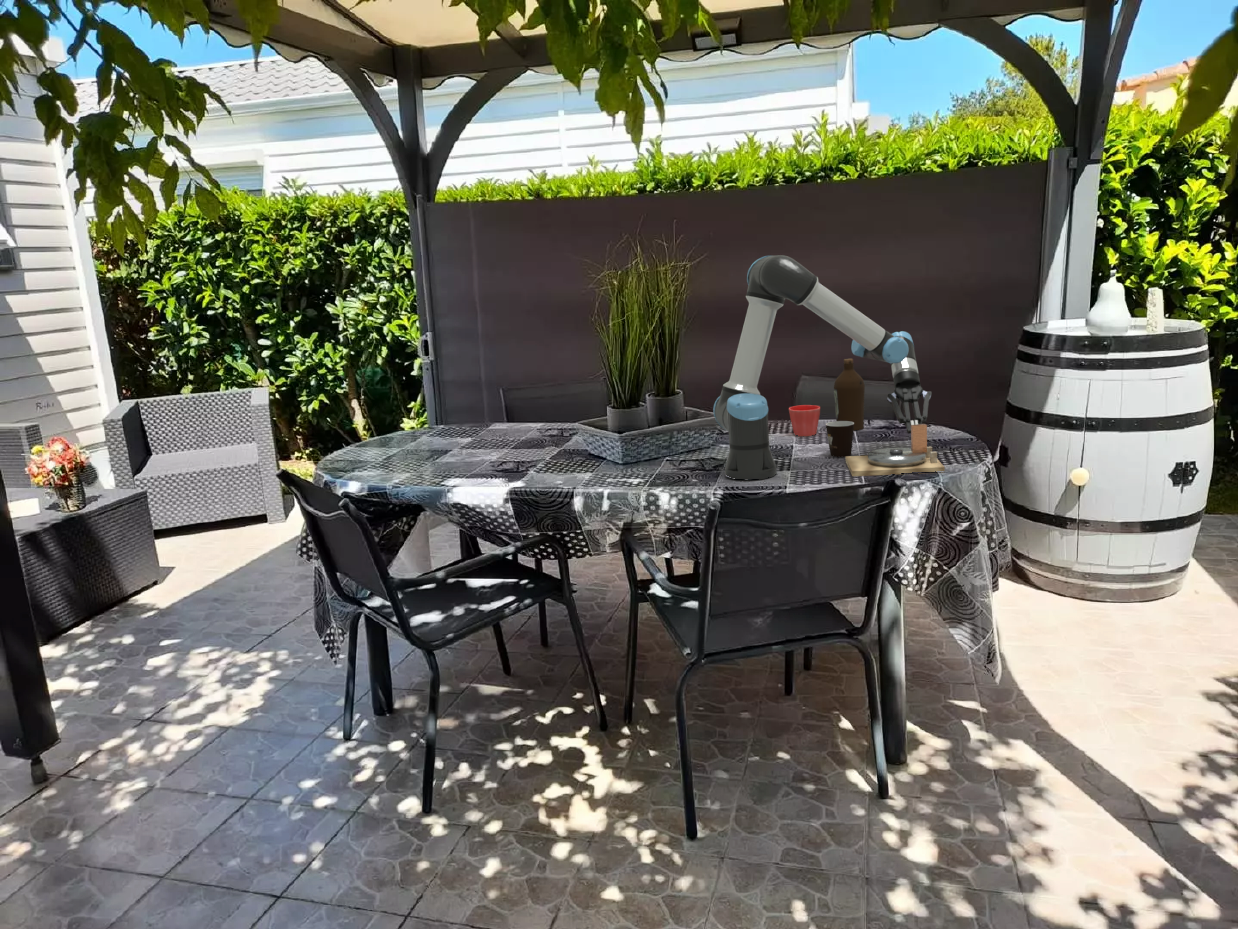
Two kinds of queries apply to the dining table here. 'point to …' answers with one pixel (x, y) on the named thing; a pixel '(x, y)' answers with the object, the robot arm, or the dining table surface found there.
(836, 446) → the coffee mug
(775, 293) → the robot arm
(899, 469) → the tan record player
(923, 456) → the disc
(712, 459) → the dining table surface
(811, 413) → the flower pot
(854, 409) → the olive oil
